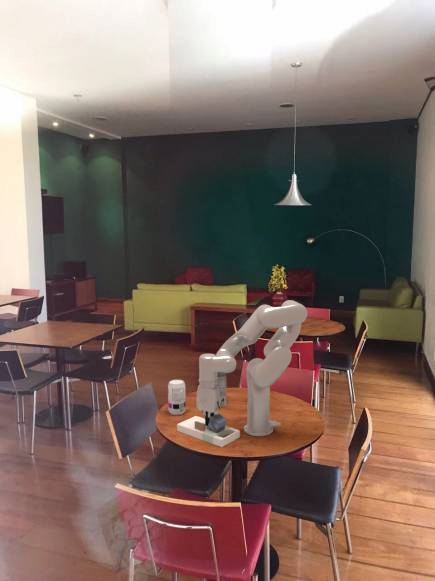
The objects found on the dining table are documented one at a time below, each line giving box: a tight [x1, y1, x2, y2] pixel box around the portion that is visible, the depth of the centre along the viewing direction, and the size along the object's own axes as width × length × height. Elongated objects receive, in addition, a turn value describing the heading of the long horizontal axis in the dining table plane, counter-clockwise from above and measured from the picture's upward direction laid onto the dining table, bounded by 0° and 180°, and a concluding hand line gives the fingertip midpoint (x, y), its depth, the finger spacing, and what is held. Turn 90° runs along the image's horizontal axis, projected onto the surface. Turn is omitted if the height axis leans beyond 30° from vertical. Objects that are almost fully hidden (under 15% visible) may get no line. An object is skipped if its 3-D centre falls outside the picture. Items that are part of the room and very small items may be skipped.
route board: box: [176, 415, 241, 448], centre depth 200 cm, size 25×12×6 cm, turn 50°
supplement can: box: [167, 379, 187, 416], centre depth 224 cm, size 8×8×15 cm
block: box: [208, 413, 228, 433], centre depth 196 cm, size 5×5×5 cm
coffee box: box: [217, 372, 227, 408], centre depth 234 cm, size 9×6×16 cm
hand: (209, 425), depth 199 cm, fingers closed
